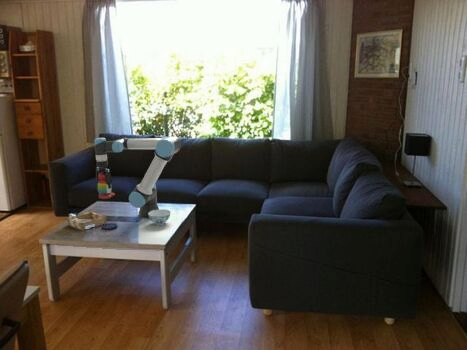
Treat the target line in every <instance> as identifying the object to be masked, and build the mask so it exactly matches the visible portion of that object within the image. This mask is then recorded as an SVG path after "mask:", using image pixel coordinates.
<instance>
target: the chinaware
mask: <svg viewBox="0 0 467 350" xmlns="http://www.w3.org/2000/svg"><path fill="white" fill-rule="evenodd" d="M148 215H149V219H150V221H151V222H152V223H154V225H156V226H161V225H165V224H166V222H167V221H168V220H169V219H170V217H171V210H169V209H164V208H163V209H160V208H159V210H153V211H150V212H149V213H148Z"/></svg>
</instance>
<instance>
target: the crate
mask: <svg viewBox="0 0 467 350" xmlns="http://www.w3.org/2000/svg"><path fill="white" fill-rule="evenodd" d="M74 217H76V218H78V219H91V221H88V222H78V221H76V220H73V219H74ZM105 223H107V216H106V215H102V214H100V213H96V212H93V211H92V210H90V211H89V212H86V213H82V214H79V215H75V216H72V217H69V216H68V217H67V226H69V227H71V228H74V229H76V230H79V231H82V232H85V231H86V230H85V227H86V226H88V225H92V224H95V226H96V227H95V228H97V227H100V225H101V226H103V224H104V225H106V224H105Z"/></svg>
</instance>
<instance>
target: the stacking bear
mask: <svg viewBox="0 0 467 350" xmlns="http://www.w3.org/2000/svg"><path fill="white" fill-rule="evenodd" d="M104 174H105V173H104ZM98 177H99V180H100V181H99V182H97V192H98V198H99V199H103V200H108V199H111V197H114V196H116V193H114V192H111V193H107V186H106V184H107V182H106V179H105V176H104V175H103V173H100V174H99V176H98Z"/></svg>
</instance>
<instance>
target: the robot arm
mask: <svg viewBox="0 0 467 350" xmlns="http://www.w3.org/2000/svg"><path fill="white" fill-rule="evenodd" d="M93 141H94V151H95V160H96V162H95V163H96V167H95V181H97V183H98V182H99V181H100V180H99V177H98V176H99V174H100V173H103V175H104V176H105V179H106V182H107V184H106V186H107V193H112V183H113V178H112V174H111V169H110V168H108V166H109V160H108V153H121V152H123V150H154V152H153V153H154V155H155V156H154V158H153V159H152V161H151V163H150V165H149V167H148V169H147V171H146V172H145V174H144V177H143V178H142V180H141V182H140V183H139V184H137V185H136V187H135V188H134V189H133V190H134V191H132V192H131V193H130V194H129V196H128V202H129V204H130V205H131V206H132V207H133V208H136V209H139V210H138V215H139V216H138V217H141V218H144V219H145V218H146V219H147V218H149V215H148V213H149V212H150V211H153V210H159V209H160V208H159V205H158V197H157V195H158V194H157V186H156V182H157V181H158V179H159V177H160V176H161V173H162V171H163V169H164V167H165V166H166V165H167V162H170V161H171V160H172V158H173V156H174V154H177V153H178V152H179V151H180V149H181V146H182V143H181V140H180V138H178V137H176V136H173V135H172V136H163V137H161V138H153V137H151V138H128V137H122V138H119V139H116V140H106V138H105V137H97V138H95V139H94V140H93ZM104 173H105V174H104ZM149 219H150V218H149Z"/></svg>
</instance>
